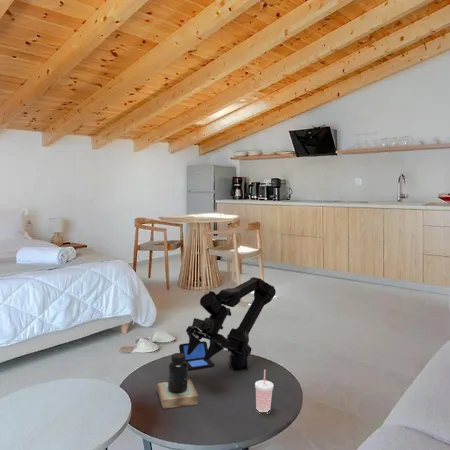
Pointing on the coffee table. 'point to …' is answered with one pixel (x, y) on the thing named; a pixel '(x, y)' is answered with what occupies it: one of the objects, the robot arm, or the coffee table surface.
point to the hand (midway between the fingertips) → (195, 357)
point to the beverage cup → (263, 394)
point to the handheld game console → (196, 356)
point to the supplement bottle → (178, 373)
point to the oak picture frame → (177, 396)
